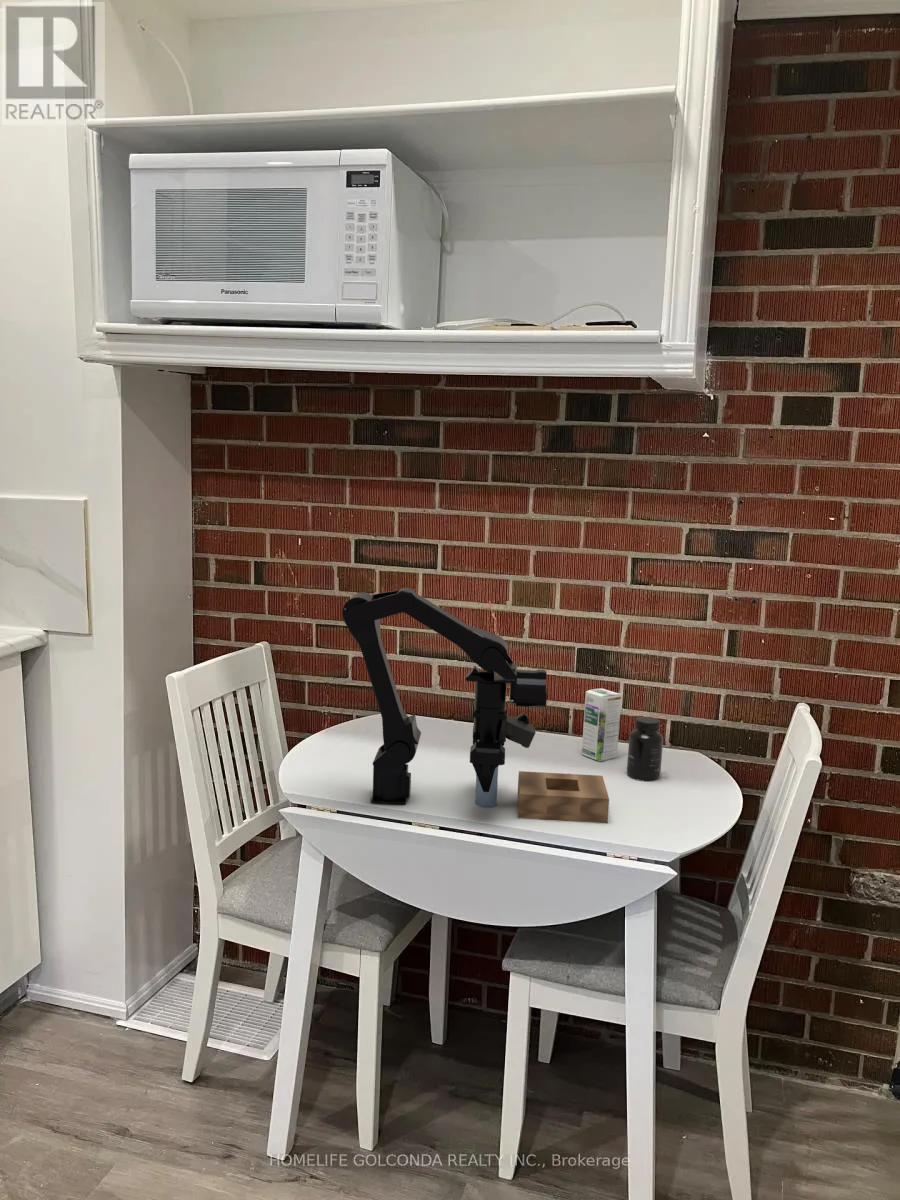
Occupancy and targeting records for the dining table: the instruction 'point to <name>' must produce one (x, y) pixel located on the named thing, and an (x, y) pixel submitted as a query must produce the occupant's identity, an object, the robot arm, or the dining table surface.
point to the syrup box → (601, 724)
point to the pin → (487, 793)
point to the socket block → (562, 797)
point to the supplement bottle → (645, 750)
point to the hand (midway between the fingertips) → (486, 785)
